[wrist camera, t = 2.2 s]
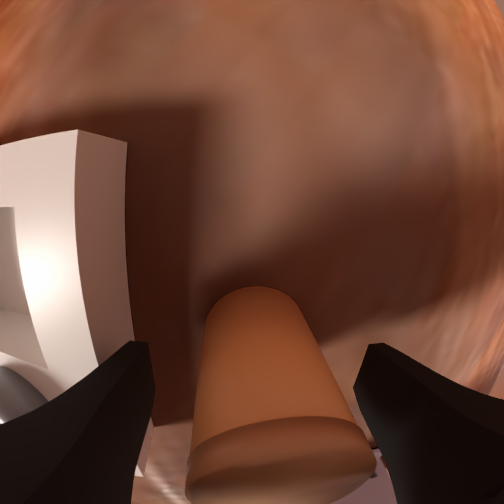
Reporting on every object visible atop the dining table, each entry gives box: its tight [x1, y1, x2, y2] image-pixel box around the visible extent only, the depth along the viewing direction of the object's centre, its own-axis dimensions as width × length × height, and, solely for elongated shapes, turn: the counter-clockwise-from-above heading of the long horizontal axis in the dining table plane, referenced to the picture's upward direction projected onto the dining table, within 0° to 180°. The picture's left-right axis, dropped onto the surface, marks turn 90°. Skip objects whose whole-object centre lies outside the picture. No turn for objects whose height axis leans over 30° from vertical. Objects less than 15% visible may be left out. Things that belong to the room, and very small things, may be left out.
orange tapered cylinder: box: [185, 286, 377, 504], centre depth 7 cm, size 4×4×7 cm
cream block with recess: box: [0, 130, 154, 477], centre depth 7 cm, size 10×14×6 cm
